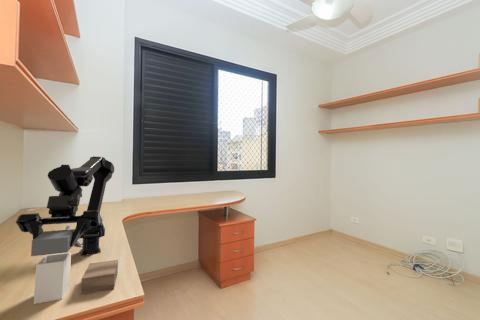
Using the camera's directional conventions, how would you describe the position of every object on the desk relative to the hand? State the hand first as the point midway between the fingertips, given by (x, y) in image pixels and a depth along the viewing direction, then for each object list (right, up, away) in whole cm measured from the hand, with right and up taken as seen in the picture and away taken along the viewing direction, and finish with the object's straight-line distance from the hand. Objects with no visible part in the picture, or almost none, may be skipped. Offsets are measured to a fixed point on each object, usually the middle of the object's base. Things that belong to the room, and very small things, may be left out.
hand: (53, 248), depth 58 cm
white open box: (-1, -13, +1) cm, 13 cm away
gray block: (-1, -1, +1) cm, 2 cm away
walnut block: (+8, -14, +7) cm, 18 cm away
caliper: (-26, -14, +41) cm, 51 cm away
